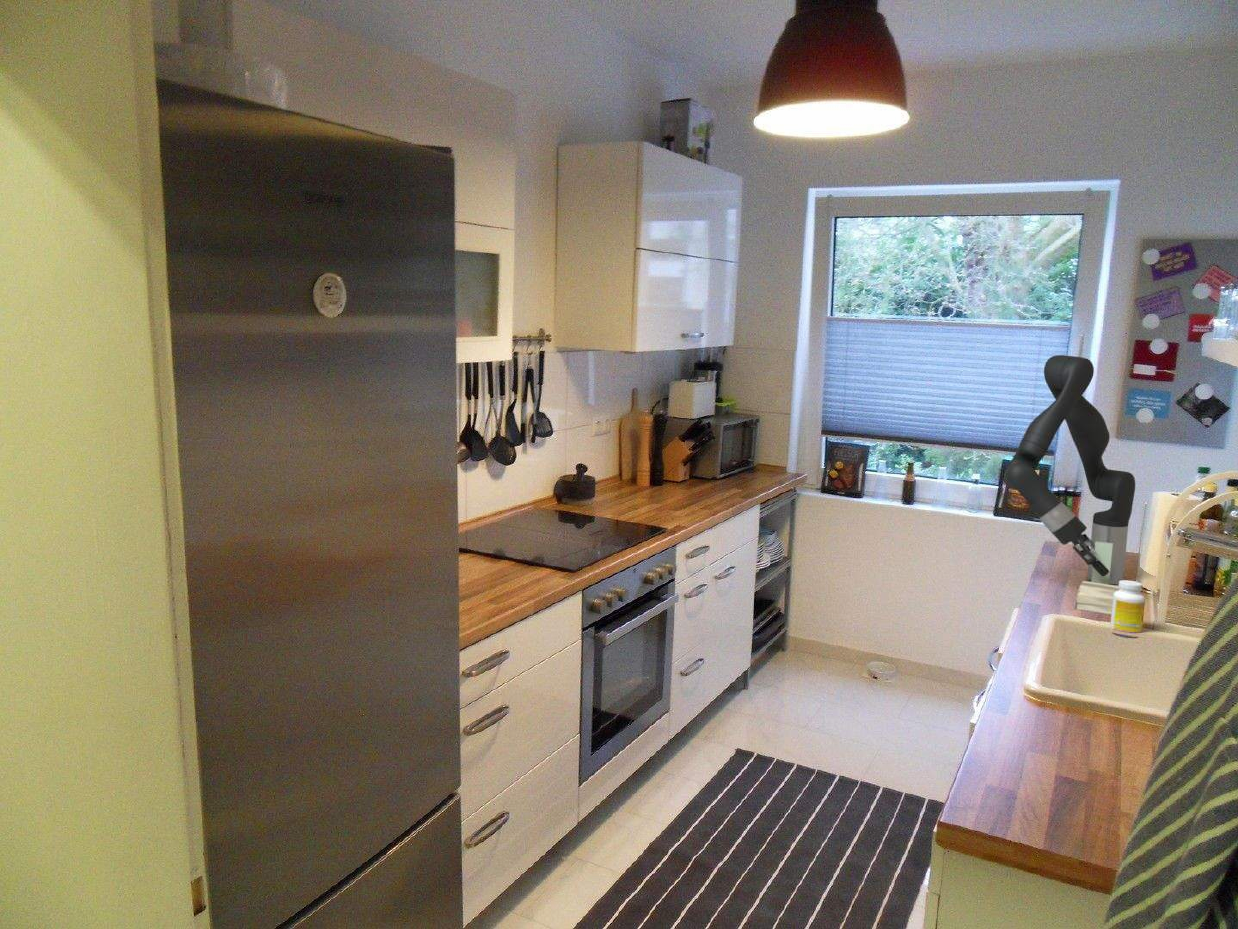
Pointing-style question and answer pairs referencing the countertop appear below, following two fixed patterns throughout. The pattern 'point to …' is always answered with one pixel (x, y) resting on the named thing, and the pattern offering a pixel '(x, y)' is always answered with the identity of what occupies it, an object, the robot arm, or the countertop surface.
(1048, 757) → the countertop surface
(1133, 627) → the supplement bottle
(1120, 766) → the countertop surface
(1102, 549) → the sage slat
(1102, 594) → the offcut stack
